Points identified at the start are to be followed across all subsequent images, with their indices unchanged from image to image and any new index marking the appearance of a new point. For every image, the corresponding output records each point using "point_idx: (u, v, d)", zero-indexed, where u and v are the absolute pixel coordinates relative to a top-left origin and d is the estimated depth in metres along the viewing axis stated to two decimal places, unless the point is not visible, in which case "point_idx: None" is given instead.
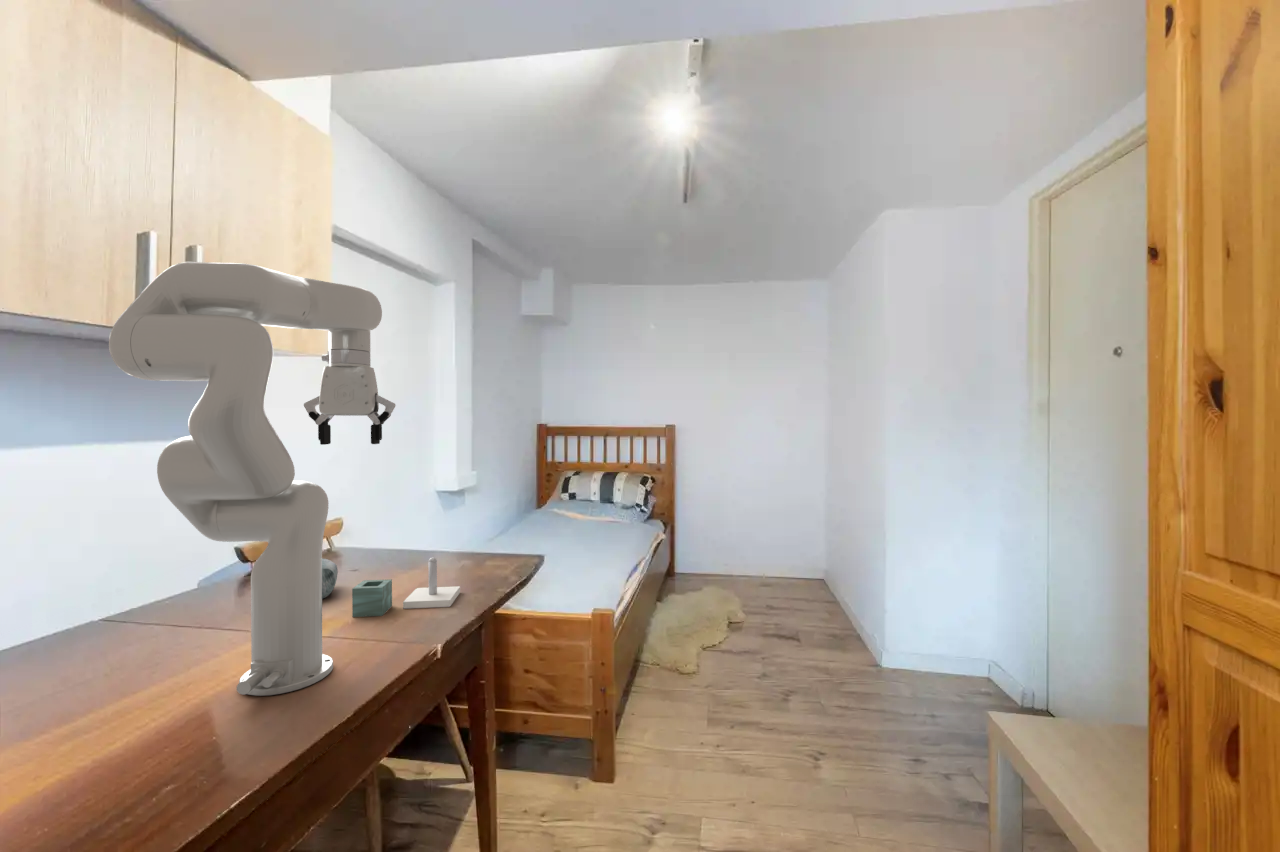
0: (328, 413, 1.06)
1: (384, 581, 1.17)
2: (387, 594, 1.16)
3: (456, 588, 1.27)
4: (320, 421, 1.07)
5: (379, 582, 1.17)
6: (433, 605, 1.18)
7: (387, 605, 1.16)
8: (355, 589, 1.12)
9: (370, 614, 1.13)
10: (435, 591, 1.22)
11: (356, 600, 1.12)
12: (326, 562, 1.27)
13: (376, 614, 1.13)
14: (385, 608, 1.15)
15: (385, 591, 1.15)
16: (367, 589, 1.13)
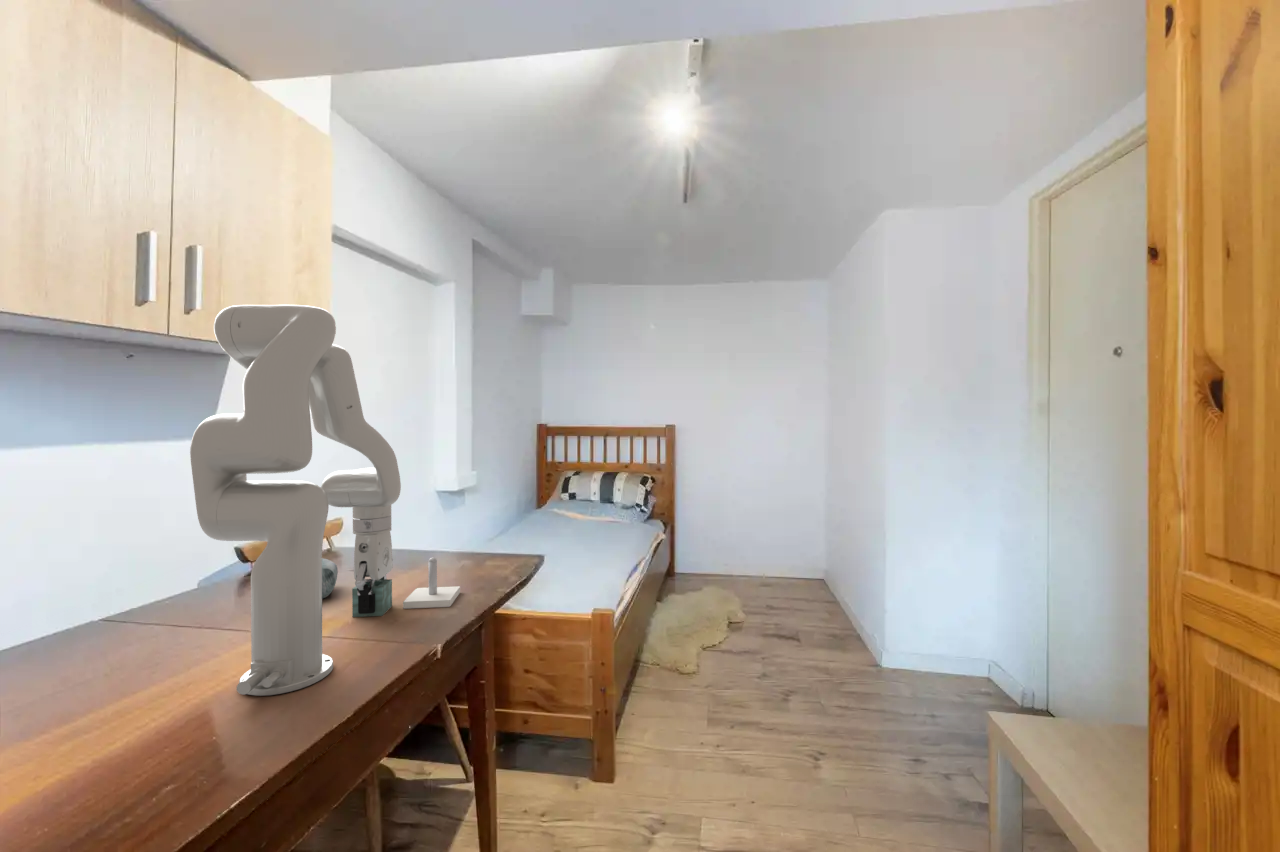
0: (380, 578, 1.13)
1: (384, 581, 1.17)
2: (387, 594, 1.16)
3: (456, 588, 1.27)
4: (372, 591, 1.12)
5: (379, 582, 1.17)
6: (433, 605, 1.18)
7: (387, 605, 1.16)
8: (355, 589, 1.12)
9: (370, 614, 1.13)
10: (435, 591, 1.22)
11: (356, 600, 1.12)
12: (326, 562, 1.27)
13: (376, 614, 1.13)
14: (385, 608, 1.15)
15: (385, 591, 1.15)
16: None
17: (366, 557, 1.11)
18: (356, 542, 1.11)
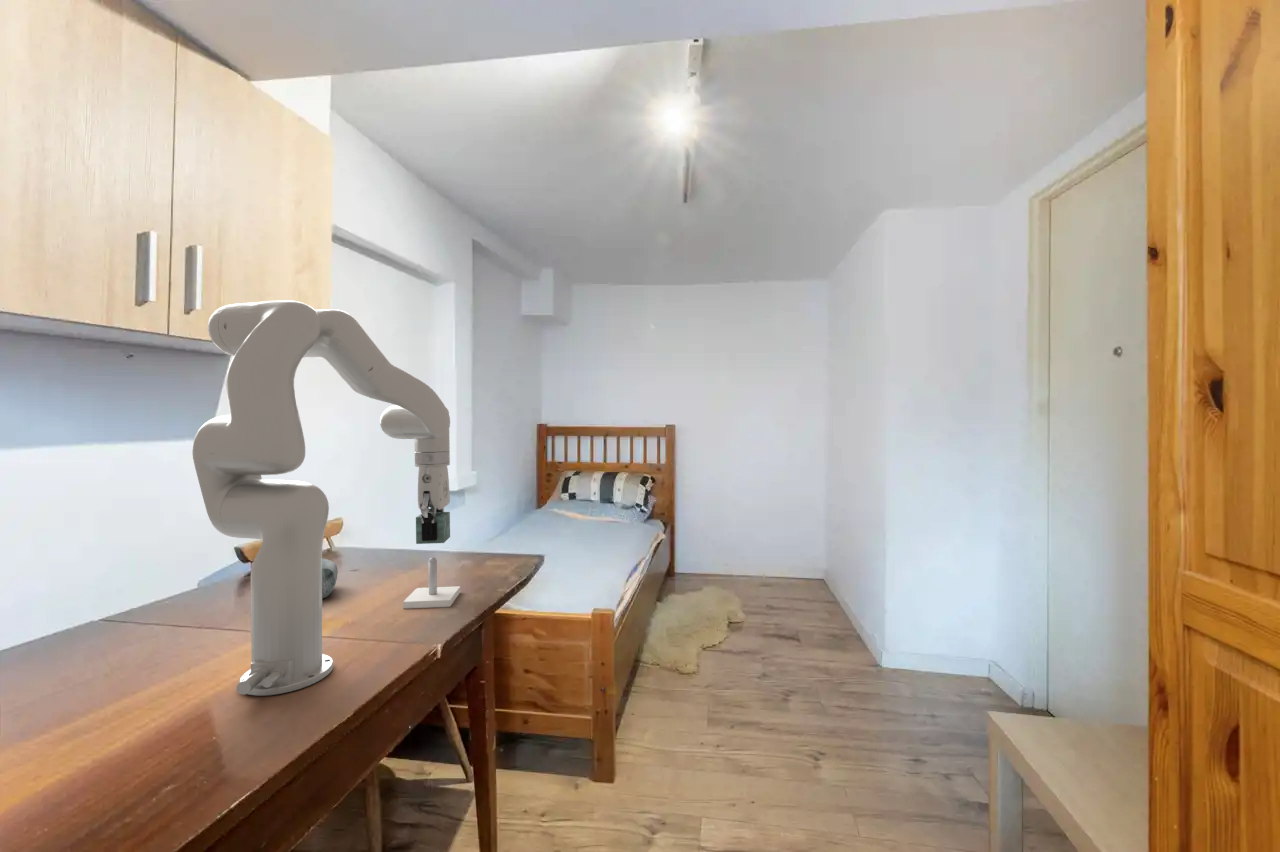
0: (441, 508, 1.20)
1: (443, 513, 1.25)
2: (446, 524, 1.24)
3: (456, 588, 1.27)
4: (434, 519, 1.20)
5: (438, 514, 1.25)
6: (433, 605, 1.18)
7: (447, 535, 1.24)
8: (418, 518, 1.20)
9: (432, 541, 1.20)
10: (435, 591, 1.22)
11: (419, 528, 1.20)
12: (326, 562, 1.27)
13: (438, 541, 1.20)
14: (445, 536, 1.22)
15: (445, 521, 1.22)
16: None
17: (429, 487, 1.18)
18: (419, 473, 1.18)
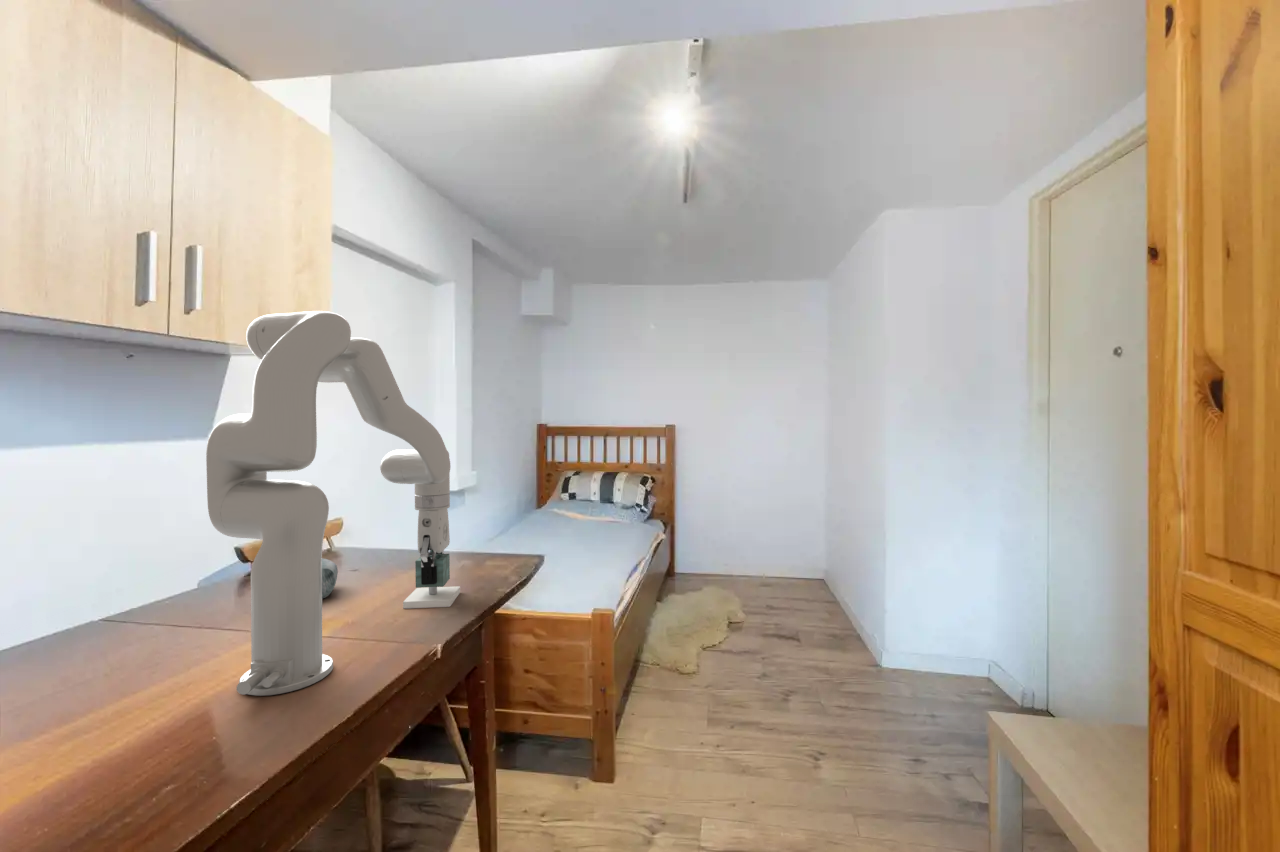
0: (441, 551, 1.20)
1: (443, 555, 1.25)
2: (446, 567, 1.23)
3: (456, 588, 1.27)
4: (434, 563, 1.19)
5: (438, 556, 1.25)
6: (433, 605, 1.18)
7: (446, 577, 1.24)
8: (418, 561, 1.20)
9: (432, 585, 1.20)
10: (435, 591, 1.22)
11: (419, 572, 1.20)
12: (326, 562, 1.27)
13: (437, 585, 1.20)
14: (445, 579, 1.22)
15: (445, 564, 1.22)
16: None
17: (429, 531, 1.18)
18: (419, 517, 1.18)
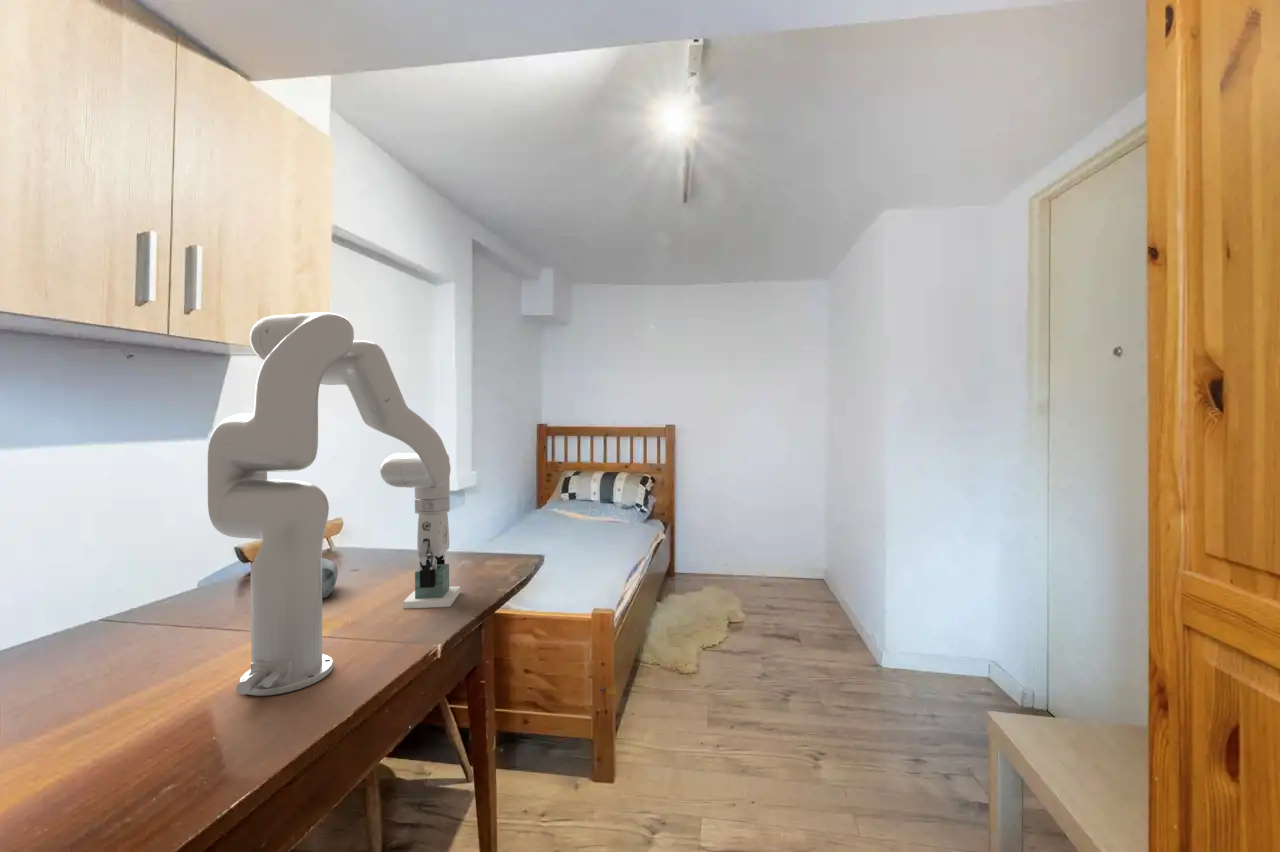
0: (441, 555, 1.20)
1: (442, 565, 1.24)
2: (446, 577, 1.23)
3: (456, 588, 1.27)
4: (432, 566, 1.18)
5: (438, 566, 1.24)
6: (433, 605, 1.18)
7: (446, 588, 1.23)
8: (417, 572, 1.19)
9: (431, 596, 1.20)
10: None
11: (418, 583, 1.19)
12: (326, 562, 1.27)
13: (437, 596, 1.20)
14: (444, 590, 1.22)
15: (444, 575, 1.22)
16: None
17: (429, 535, 1.18)
18: (419, 521, 1.18)
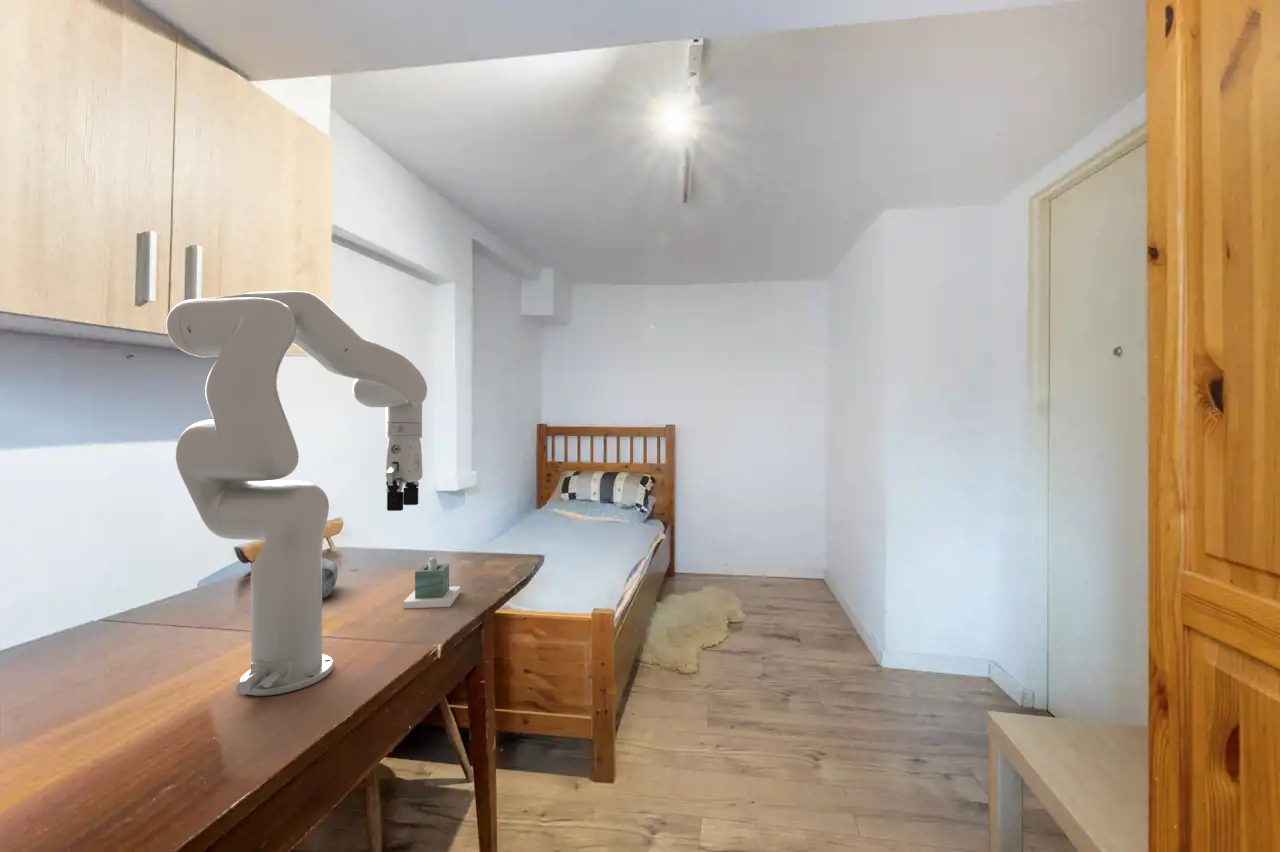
0: (411, 480, 1.17)
1: (442, 565, 1.24)
2: (446, 577, 1.23)
3: (456, 588, 1.27)
4: (400, 488, 1.15)
5: (438, 566, 1.24)
6: (433, 605, 1.18)
7: (446, 588, 1.23)
8: (417, 572, 1.19)
9: (431, 596, 1.20)
10: None
11: (418, 583, 1.19)
12: (326, 562, 1.27)
13: (437, 596, 1.20)
14: (444, 590, 1.22)
15: (444, 575, 1.22)
16: (429, 572, 1.20)
17: (398, 458, 1.15)
18: (389, 444, 1.15)
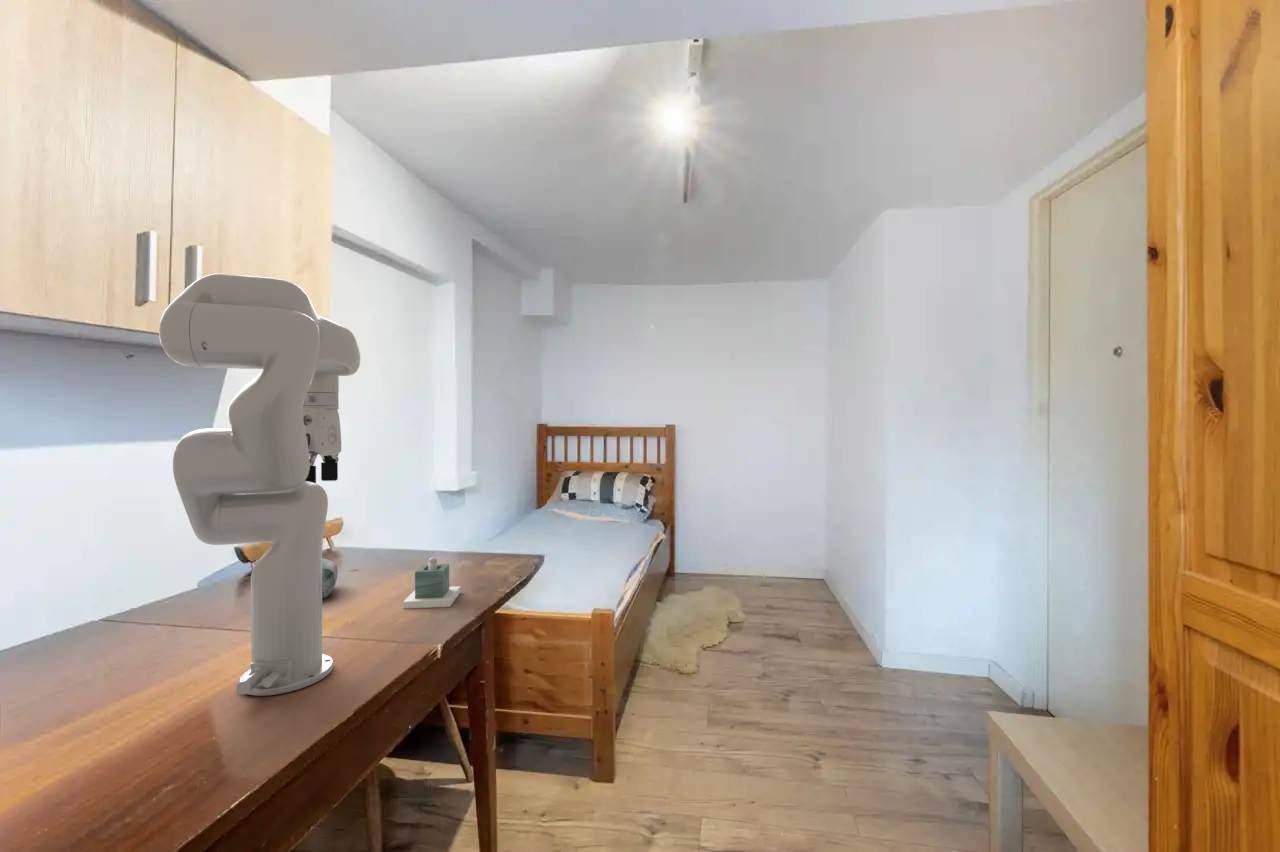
0: (325, 454, 1.10)
1: (442, 565, 1.24)
2: (446, 577, 1.23)
3: (456, 588, 1.27)
4: (312, 462, 1.07)
5: (438, 566, 1.24)
6: (433, 605, 1.18)
7: (446, 588, 1.23)
8: (417, 572, 1.19)
9: (431, 596, 1.20)
10: None
11: (418, 583, 1.19)
12: (326, 562, 1.27)
13: (437, 596, 1.20)
14: (444, 590, 1.22)
15: (444, 575, 1.22)
16: (429, 572, 1.20)
17: (309, 430, 1.07)
18: None
